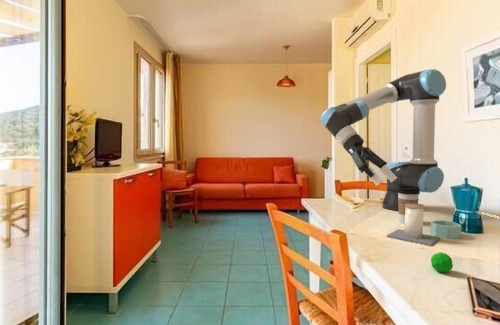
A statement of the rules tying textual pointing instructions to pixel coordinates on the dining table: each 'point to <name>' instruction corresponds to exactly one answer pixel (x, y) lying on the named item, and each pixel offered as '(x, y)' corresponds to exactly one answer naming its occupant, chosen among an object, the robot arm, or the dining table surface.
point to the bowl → (445, 229)
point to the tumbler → (413, 220)
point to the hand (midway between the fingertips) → (387, 181)
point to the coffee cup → (406, 199)
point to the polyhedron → (441, 262)
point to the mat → (424, 240)
